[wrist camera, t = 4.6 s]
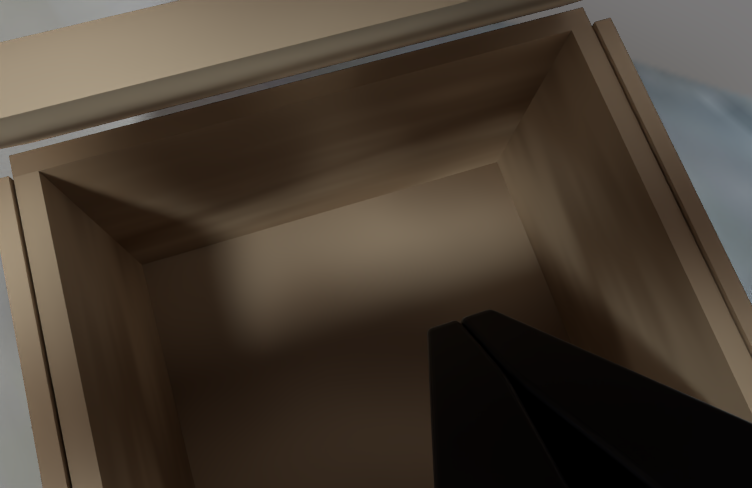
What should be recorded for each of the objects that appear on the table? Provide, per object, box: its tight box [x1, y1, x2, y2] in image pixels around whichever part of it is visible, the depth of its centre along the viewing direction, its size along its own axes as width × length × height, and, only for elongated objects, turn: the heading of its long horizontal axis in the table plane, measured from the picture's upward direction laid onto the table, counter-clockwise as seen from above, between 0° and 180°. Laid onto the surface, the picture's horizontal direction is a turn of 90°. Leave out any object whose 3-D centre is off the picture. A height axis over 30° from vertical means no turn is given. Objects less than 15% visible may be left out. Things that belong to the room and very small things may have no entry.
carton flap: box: [0, 0, 581, 149], centre depth 9 cm, size 10×12×1 cm
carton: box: [0, 8, 752, 488], centre depth 17 cm, size 12×14×8 cm
